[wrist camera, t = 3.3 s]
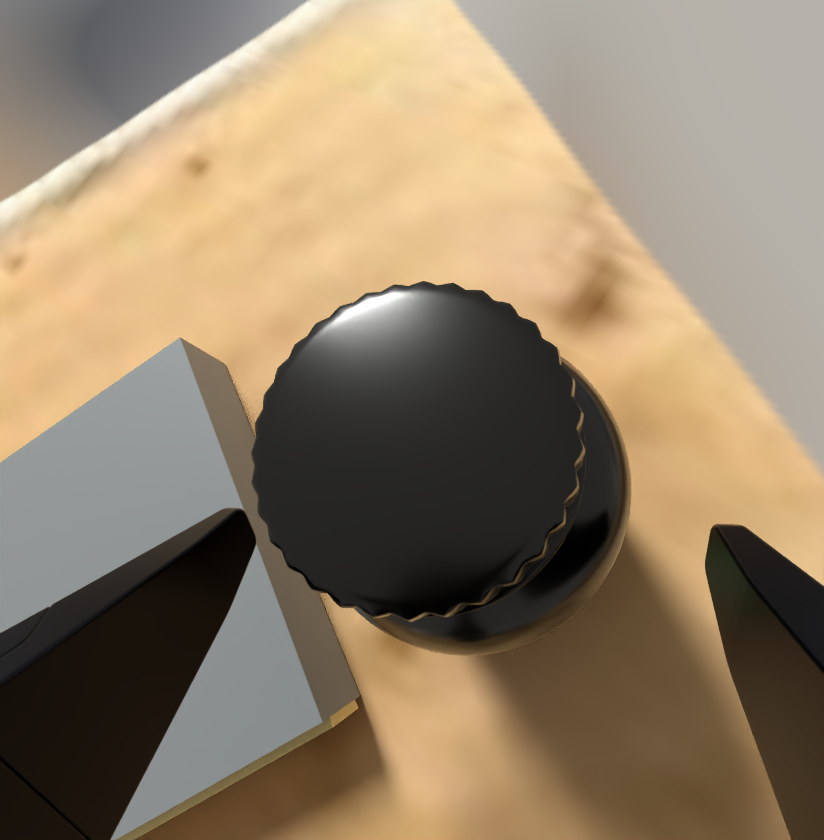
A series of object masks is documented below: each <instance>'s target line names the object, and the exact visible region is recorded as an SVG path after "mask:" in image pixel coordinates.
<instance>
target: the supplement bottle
mask: <svg viewBox="0 0 824 840" xmlns="http://www.w3.org/2000/svg"><path fill="white" fill-rule="evenodd" d="M255 432H256V439H255V442H254V444H253V447H252V450H251V457H252V461H253V463H254V470H253V475H252V481H251V484H252V486H253V489H254V491H255V492H256V494H257V496H258V503H257V511H258V514H259V516H260V517H261V519H262V520H263V521H264V522H265V523H266V524H267V527H268V535H269V539H270V542H271V543H272V544H273V545H275V546H276V547H277V548H279V549H280V550H281V551H282V553H283V556H284V559H285V561H286V564H287V566H288V568H290V569H292V570H294V571H296V572H298V573H301V574H302V575H303V576H304V578H305V580H306V582H307V584H308V585H309V587H310V588H311V590H314V591H318V592H322V593H328V594H329V595H330V596H331V598H332V599H333V601H334V602H335V603H336V604H337V605H339V606H340V607H342V608H354V609H355V610H356V611H357V612H358V613H359V614H360V615H362V616H363V617H364V618H365V619H366V620H368V621H369V622H370V623H371V624H373V625H374V626H376V627H377V628H379V629H380V630H382V631H383V632H385V633H386V634H388V635H390V636H392V637H394V638H396V639H398V640H400V641H402V642H405V643H407V644H410V645H412V646H415V647H417V648H421V649H424V650H428V651H431V652H436V653H442V654H448V655H462V656H473V655H487V654H493V653H500V652H504V651H508V650H512V649H515V648H519V647H521V646H524V645H526V644H529V643H531V642H534V641H536V640H538V639H540V638H542V637H544V636H546V635H547V634H549V633H551V632H553V631H554V630H556V629H557V628H559V627H560V626H562V625H563V624H564V623H566V622H567V621H568V620H570V619H571V618H572V617H573V616H574V615H575V614H577V613H578V612H579V611H580V610H581V609H582V608H583V607H584V606H585V605H586V604H587V603H588V601H589V600H590V599H591V598H592V597H593V596H594V595H595V593H596V592H597V591H598V589H599V588H600V586H601V585H602V584H603V582H604V581H605V579H606V577H607V576H608V574H609V572H610V571H611V569H612V567H613V565H614V563H615V561H616V558H617V556H618V554H619V552H620V549H621V546H622V543H623V540H624V537H625V534H626V530H627V525H628V520H629V514H630V504H631V476H630V468H629V461H628V456H627V452H626V448H625V444H624V441H623V438H622V436H621V433H620V430H619V427H618V425H617V423H616V421H615V419H614V417H613V415H612V413H611V411H610V409H609V408H608V406H607V405H606V403H605V401H604V400H603V398H602V397H601V395H600V394H599V393H598V391H597V390H596V389H595V388H594V386H593V385H592V384H591V383H590V382H589V381H588V379H587V378H586V377H585V376H584V375H583V374H582V373H581V372H580V371H579V370H577V369H576V368H575V367H574V366H573V365H572V364H571V363H569V362H568V361H567V360H565V359H564V358H562V357H561V356H560V353H559V350H558V348H557V347H555V346H554V345H553V344H551V343H550V342H548V341H546V340H544V339H543V338H542V336H541V332H540V330H539V328H538V326H537V324H536V323H534V322H532V321H530V320H528V319H524V318H522V317H520V316H519V315H518V314H517V312H516V310H515V309H514V308H513V306H512V305H511V304H509V303H505V302H498V301H494V300H493V299H492V298H491V297H490V296H489V295H488V294H486V293H485V292H484V291H482V290H465V289H463V288H462V287H460V286H458V285H456V284H454V283H449V284H444V285H434V284H432V283H429V282H425V281H422V282H419V283H416V284H413V285H411V286H403V285H393V286H391V287H389V288H387V289H386V290H384V291H382V292H373V293H366V294H364V295H363V296H362V297H360V298H359V299H358V300H357V301H356V302H354V303H351V304H346V305H343V306H340V307H339V308H338V309H337V310H336V311H335V312H334V313H333V314H332V315H331V316H330V317H329V318H327V319H325V320H322V321H320V322H318V323H316V324H315V325H314V327H313V328H312V330H311V331H310V333H309V334H308V336H307V337H305V338H304V339H302V340H300V341H299V342H298V343H296V344H295V345H294V347H293V349H292V352H291V354H290V356H289V358H288V359H287V360H286V361H285V362H284V363H282V364H281V365H280V366H279V367H278V369H277V372H276V375H275V380H274V383H273V384H272V385H271V386H270V388H269V389H268V390H267V392H266V393H265V394H264V400H263V410H262V411H261V413H260V415H259V417H258V418H257V420H256V422H255Z"/></svg>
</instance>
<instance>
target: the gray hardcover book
mask: <svg viewBox="0 0 824 840" xmlns="http://www.w3.org/2000/svg"><path fill="white" fill-rule="evenodd" d="M254 442H255V436H254V434H253V431H252V429H251V427H250V424H249V422H248V419H247V417H246V414H245V412H244V409H243V407H242V405H241V402H240V400H239V397H238V395H237V392H236V390H235V387H234V385H233V383H232V380H231V378H230V375H229V373H228V370H227V368H226V365H225V364H224V363H222V362H221V361H219V360H217V359H216V358H214V357H212V356H211V355H209V354H207V353H206V352H204V351H202V350H200V349H199V348H197V347H195V346H194V345H192V344H190V343H189V342H187V341H185V340H183V339H182V338H179V339H177V340H176V341H174V342H173V343H171V344H170V345H168V346H167V347H166V348H164V349H163V350H161V351H160V352H158V353H157V354H156V355H154V356H153V357H151V358H150V359H148V360H147V361H145V362H144V363H143V364H141V365H140V366H138V367H137V368H135V369H134V370H133V371H131V372H130V373H128V374H127V375H125V376H124V377H123V378H121V379H120V380H118V381H117V382H115V383H114V384H112V385H111V386H110V387H108V388H107V389H105V390H104V391H102V392H101V393H100V394H98V395H97V396H95V397H94V398H92V399H91V400H90V401H88V402H87V403H85V404H84V405H82V406H81V407H79V408H78V409H77V410H75V411H74V412H72V413H71V414H69V415H68V416H67V417H65V418H64V419H62V420H61V421H59V422H58V423H56V424H55V425H54V426H52V427H51V428H49V429H48V430H46V431H45V432H44V433H42V434H41V435H39V436H38V437H36V438H35V439H34V440H32V441H31V442H29V443H28V444H26V445H25V446H23V447H22V448H21V449H19V450H18V451H16V452H15V453H13V454H12V455H11V456H9V457H8V458H6V459H5V460H3V461H2V462H1V463H0V633H1V632H3V631H5V630H6V629H8V628H10V627H12V626H14V625H16V624H17V623H19V622H21V621H23V620H25V619H27V618H28V617H30V616H32V615H34V614H36V613H37V612H39V611H41V610H43V609H44V608H46V607H51V605H52V604H54V603H55V602H57V601H59V600H61V599H63V598H64V597H66V596H68V595H70V594H71V593H73V592H75V591H77V590H79V589H80V588H82V587H84V586H86V585H88V584H89V583H91V582H93V581H95V580H96V579H98V578H100V577H102V576H104V575H105V574H107V573H109V572H111V571H113V570H114V569H116V568H118V567H120V566H121V565H123V564H125V563H127V562H129V561H130V560H132V559H134V558H136V557H138V556H139V555H141V554H143V553H145V552H147V551H148V550H150V549H152V548H154V547H155V546H157V545H159V544H161V543H163V542H164V541H166V540H168V539H170V538H172V537H173V536H175V535H177V534H179V533H180V532H182V531H184V530H186V529H188V528H189V527H191V526H193V525H195V524H197V523H198V522H200V521H202V520H204V519H205V518H207V517H209V516H211V515H213V514H214V513H216V512H218V511H220V510H222V509H224V508H241V509H243V510H244V511H245V512H246V514H247V516H248V519H249V521H250V523H251V526H252V528H253V530H254V533H255V535H256V547H255V549H254V552H253V554H252V557H251V559H250V562H249V564H248V567H247V569H246V572H245V574H244V577H243V579H242V581H241V584H240V586H239V589H238V591H237V594H236V596H235V599H234V601H233V603H232V606H231V608H230V610H229V612H228V614H227V616H226V618H225V620H224V622H223V624H222V626H221V628H220V630H219V632H218V634H217V636H216V638H215V640H214V642H213V644H212V646H211V647H210V649H209V651H208V653H207V655H206V657H205V659H204V661H203V663H202V665H201V667H200V669H199V671H198V673H197V674H196V676H195V678H194V680H193V682H192V684H191V686H190V688H189V690H188V692H187V694H186V696H185V698H184V699H183V701H182V703H181V705H180V707H179V709H178V711H177V713H176V715H175V717H174V719H173V721H172V723H171V724H170V726H169V728H168V730H167V732H166V734H165V736H164V738H163V740H162V742H161V744H160V746H159V748H158V749H157V751H156V753H155V755H154V757H153V759H152V761H151V763H150V765H149V767H148V769H147V771H146V773H145V774H144V776H143V778H142V780H141V782H140V784H139V786H138V788H137V790H136V792H135V794H134V796H133V798H132V800H131V801H130V803H129V805H128V807H127V809H126V811H125V813H124V815H123V817H122V819H121V821H120V823H119V825H118V826H117V828H116V830H115V832H114V834H113V836H112V838H111V840H135V839H137V838H139V837H140V836H142V835H144V834H146V833H147V832H149V831H151V830H153V829H154V828H156V827H158V826H160V825H162V824H163V823H165V822H167V821H169V820H170V819H172V818H174V817H176V816H177V815H179V814H181V813H183V812H184V811H186V810H188V809H190V808H192V807H193V806H195V805H197V804H199V803H200V802H202V801H204V800H206V799H207V798H209V797H211V796H213V795H214V794H216V793H218V792H220V791H222V790H223V789H225V788H227V787H229V786H230V785H232V784H234V783H236V782H237V781H239V780H241V779H243V778H245V777H246V776H248V775H250V774H252V773H253V772H255V771H257V770H259V769H260V768H262V767H264V766H266V765H267V764H269V763H271V762H273V761H275V760H276V759H278V758H280V757H282V756H283V755H285V754H287V753H289V752H290V751H292V750H294V749H296V748H297V747H299V746H301V745H303V744H305V743H306V742H308V741H310V740H312V739H313V738H315V737H317V736H319V735H320V734H322V733H324V732H326V731H327V730H329V729H331V728H333V727H334V726H336V725H337V724H338V723H340V722H341V721H342V720H344V719H345V718H346V717H348V716H349V715H350V714H352V713H353V712H354V711H356V710H357V709H358V706H357V703H356V701H355V699H356V698H358V697H359V696H360V693H359V691H358V688H357V686H356V683H355V681H354V679H353V676H352V674H351V671H350V669H349V666H348V664H347V661H346V659H345V657H344V654H343V652H342V649H341V647H340V644H339V642H338V639H337V637H336V635H335V632H334V630H333V627H332V625H331V622H330V620H329V617H328V615H327V612H326V610H325V608H324V605H323V603H322V600H321V598H320V595H319V593H318V591H314V590H311V588H310V587H309V585H308V584H307V582H306V580H305V578H304V576H303V575H302V574H301V573H298V572H296V571H294V570H292V569H290V568H288V566H287V564H286V561H285V559H284V556H283V553H282V551H281V550H280V549H279V548H277V547H276V546H275V545H273V544H272V543H271V542H270V539H269V535H268V527H267V524H266V523H265V522H264V521H263V520H262V519H261V517H260V516H259V514H258V511H257V503H258V496H257V494H256V492H255V491H254V489H253V486H252V484H251V481H252V475H253V470H254V463H253V461H252V457H251V450H252V447H253V444H254Z"/></svg>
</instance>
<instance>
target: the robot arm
mask: <svg viewBox="0 0 824 840" xmlns="http://www.w3.org/2000/svg"><path fill="white" fill-rule="evenodd" d="M255 547H256V535H255V533H254V530H253V528H252V526H251V523H250V521H249V519H248V516H247V514H246V512H245V511H244V510H243V509H241V508H224V509H222V510H220V511H218V512H216V513H214V514H213V515H211V516H209V517H207V518H205V519H204V520H202V521H200V522H198V523H197V524H195V525H193V526H191V527H189V528H188V529H186V530H184V531H182V532H180V533H179V534H177V535H175V536H173V537H172V538H170V539H168V540H166V541H164V542H163V543H161V544H159V545H157V546H155V547H154V548H152V549H150V550H148V551H147V552H145V553H143V554H141V555H139V556H138V557H136V558H134V559H132V560H130V561H129V562H127V563H125V564H123V565H121V566H120V567H118V568H116V569H114V570H113V571H111V572H109V573H107V574H105V575H104V576H102V577H100V578H98V579H96V580H95V581H93V582H91V583H89V584H88V585H86V586H84V587H82V588H80V589H79V590H77V591H75V592H73V593H71V594H70V595H68V596H66V597H64V598H63V599H61V600H59V601H57V602H55V603H54V604H52V605H51V607H46V608H44V609H43V610H41V611H39V612H37V613H36V614H34V615H32V616H30V617H28V618H27V619H25V620H23V621H21V622H19V623H17V624H16V625H14V626H12V627H10V628H8V629H6V630H5V631H3V632H1V633H0V840H111V838H112V836H113V834H114V832H115V830H116V828H117V826H118V825H119V823H120V821H121V819H122V817H123V815H124V813H125V811H126V809H127V807H128V805H129V803H130V801H131V800H132V798H133V796H134V794H135V792H136V790H137V788H138V786H139V784H140V782H141V780H142V778H143V776H144V774H145V773H146V771H147V769H148V767H149V765H150V763H151V761H152V759H153V757H154V755H155V753H156V751H157V749H158V748H159V746H160V744H161V742H162V740H163V738H164V736H165V734H166V732H167V730H168V728H169V726H170V724H171V723H172V721H173V719H174V717H175V715H176V713H177V711H178V709H179V707H180V705H181V703H182V701H183V699H184V698H185V696H186V694H187V692H188V690H189V688H190V686H191V684H192V682H193V680H194V678H195V676H196V674H197V673H198V671H199V669H200V667H201V665H202V663H203V661H204V659H205V657H206V655H207V653H208V651H209V649H210V647H211V646H212V644H213V642H214V640H215V638H216V636H217V634H218V632H219V630H220V628H221V626H222V624H223V622H224V620H225V618H226V616H227V614H228V612H229V610H230V608H231V606H232V603H233V601H234V599H235V596H236V594H237V591H238V589H239V586H240V584H241V581H242V579H243V577H244V574H245V572H246V569H247V567H248V564H249V562H250V559H251V557H252V554H253V552H254V549H255ZM705 570H706V576H707V580H708V584H709V589H710V593H711V597H712V601H713V606H714V610H715V614H716V618H717V622H718V627H719V631H720V635H721V639H722V643H723V648H724V652H725V655H726V659H727V663H728V666H729V669H730V672H731V675H732V678H733V681H734V684H735V687H736V690H737V692H738V695H739V698H740V700H741V703H742V706H743V709H744V711H745V714H746V717H747V720H748V722H749V725H750V728H751V731H752V733H753V736H754V739H755V741H756V744H757V747H758V750H759V752H760V755H761V758H762V761H763V763H764V766H765V769H766V771H767V774H768V777H769V780H770V782H771V785H772V788H773V791H774V793H775V796H776V799H777V801H778V804H779V807H780V810H781V812H782V815H783V818H784V821H785V823H786V826H787V829H788V831H789V834H790V837H791V840H824V586H823V585H822V584H820V583H819V582H818V581H816V580H815V579H814V578H812V577H811V576H810V575H808V574H807V573H806V572H804V571H803V570H802V569H800V568H799V567H798V566H796V565H795V564H794V563H792V562H791V561H790V560H788V559H787V558H786V557H784V556H783V555H782V554H781V553H779V552H778V551H777V550H775V549H774V548H773V547H771V546H770V545H769V544H767V543H766V542H765V541H763V540H762V539H761V538H759V537H758V536H757V535H755V534H754V533H753V532H751V531H750V530H749V529H747V528H746V527H744V526H742V525H735V524H716V525H714V526H713V527H712V528H711V531H710V536H709V542H708V548H707V553H706V559H705Z"/></svg>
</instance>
